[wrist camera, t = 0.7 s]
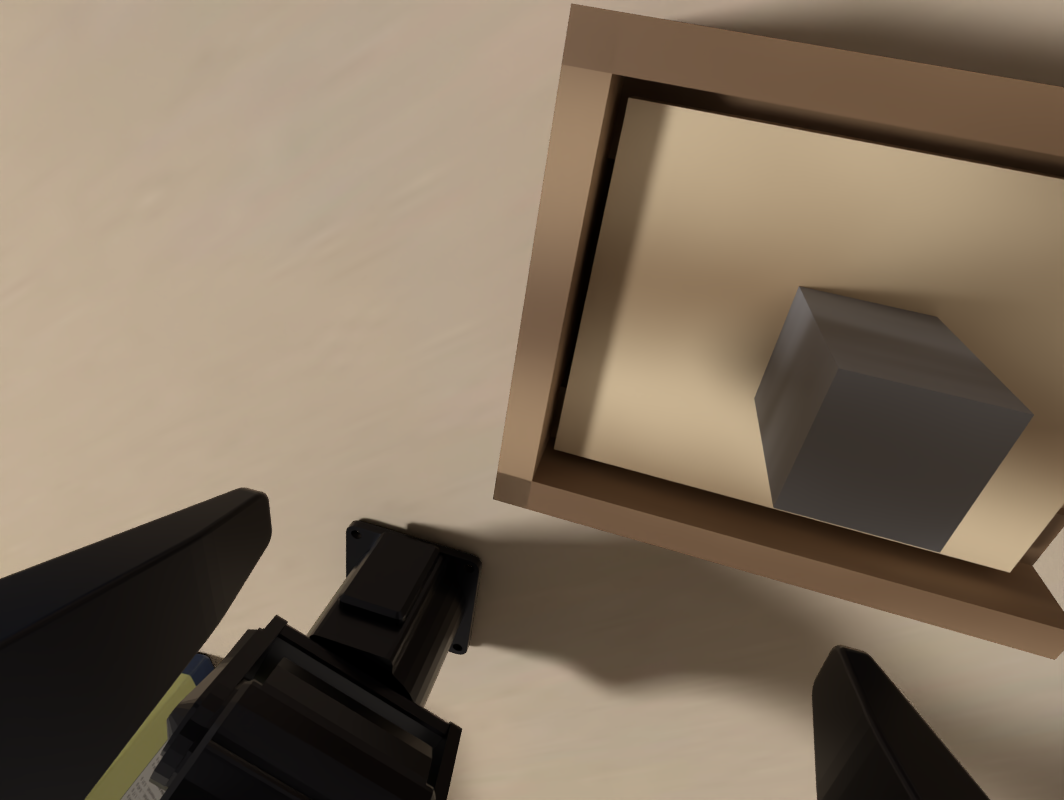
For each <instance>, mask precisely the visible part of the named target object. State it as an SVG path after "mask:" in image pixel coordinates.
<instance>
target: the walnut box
mask: <svg viewBox="0 0 1064 800" xmlns="http://www.w3.org/2000/svg"><path fill="white" fill-rule="evenodd" d="M632 96H636V97H642V98H647V99H652V100H657V101H663V102H668V103H673V104H679V105H684V106H689V107H695V108H700V109H705V110H711V111H716V112H721V113H727V114H732V115H737V116H743V117H748V118H753V119H759V120H764V121H769V122H775V123H780V124H785V125H790V126H796V127H801V128H806V129H812V130H817V131H822V132H828V133H833V134H838V135H844V136H849V137H854V138H860V139H865V140H870V141H876V142H881V143H886V144H892V145H897V146H902V147H908V148H913V149H918V150H923V151H929V152H934V153H939V154H945V155H950V156H955V157H961V158H966V159H971V160H977V161H982V162H987V163H993V164H998V165H1003V166H1009V167H1014V168H1019V169H1025V170H1030V171H1035V172H1041V173H1046V174H1051V175H1056V176H1062V177H1064V87H1059V86H1054V85H1048V84H1042V83H1036V82H1030V81H1024V80H1018V79H1012V78H1006V77H1001V76H995V75H989V74H983V73H977V72H971V71H965V70H959V69H953V68H948V67H942V66H936V65H930V64H924V63H918V62H912V61H906V60H901V59H895V58H889V57H883V56H877V55H871V54H865V53H859V52H853V51H848V50H842V49H836V48H830V47H824V46H818V45H812V44H806V43H800V42H795V41H789V40H783V39H777V38H771V37H765V36H759V35H753V34H747V33H742V32H736V31H730V30H724V29H718V28H712V27H706V26H700V25H695V24H689V23H683V22H677V21H671V20H665V19H659V18H653V17H647V16H642V15H636V14H630V13H624V12H618V11H612V10H606V9H600V8H594V7H589V6H583V5H577V4H571V9H570V16H569V22H568V28H567V35H566V41H565V47H564V53H563V60H562V66H561V72H560V79H559V85H558V91H557V98H556V104H555V110H554V117H553V123H552V129H551V136H550V142H549V148H548V155H547V161H546V167H545V174H544V180H543V186H542V193H541V199H540V205H539V212H538V218H537V224H536V231H535V237H534V243H533V249H532V256H531V262H530V268H529V275H528V281H527V287H526V294H525V300H524V306H523V313H522V319H521V325H520V332H519V338H518V344H517V351H516V357H515V363H514V370H513V376H512V382H511V389H510V395H509V401H508V408H507V414H506V420H505V427H504V433H503V439H502V445H501V452H500V458H499V464H498V471H497V477H496V483H495V490H494V496H493V499H494V500H498V501H501V502H505V503H508V504H512V505H515V506H519V507H522V508H526V509H529V510H533V511H536V512H540V513H543V514H547V515H550V516H554V517H557V518H561V519H564V520H568V521H571V522H575V523H578V524H582V525H585V526H589V527H592V528H596V529H599V530H603V531H606V532H610V533H613V534H617V535H620V536H624V537H627V538H631V539H634V540H638V541H641V542H645V543H648V544H652V545H655V546H659V547H662V548H666V549H669V550H673V551H676V552H680V553H683V554H687V555H690V556H694V557H697V558H701V559H704V560H708V561H711V562H715V563H718V564H722V565H725V566H729V567H732V568H736V569H739V570H743V571H746V572H750V573H753V574H757V575H760V576H764V577H767V578H771V579H774V580H778V581H781V582H785V583H788V584H792V585H795V586H799V587H802V588H806V589H809V590H813V591H816V592H820V593H823V594H827V595H830V596H834V597H837V598H841V599H844V600H848V601H851V602H855V603H858V604H862V605H865V606H869V607H872V608H876V609H879V610H883V611H886V612H890V613H893V614H897V615H900V616H904V617H907V618H911V619H914V620H918V621H921V622H925V623H928V624H932V625H935V626H939V627H942V628H946V629H949V630H953V631H956V632H960V633H963V634H967V635H970V636H974V637H977V638H981V639H984V640H988V641H991V642H995V643H998V644H1002V645H1005V646H1009V647H1012V648H1016V649H1019V650H1023V651H1026V652H1030V653H1033V654H1037V655H1040V656H1043V657H1047V658H1050V659H1054V660H1055V659H1056V658H1057V657H1058V656H1059V655H1060V654H1061V653H1062V652H1063V650H1064V611H1063V610H1062V608H1061V607H1060V606H1059V604H1058V603H1057V601H1056V600H1055V598H1054V597H1053V595H1052V594H1051V592H1050V591H1049V589H1048V588H1047V586H1046V585H1045V584H1044V582H1043V581H1042V579H1041V578H1040V576H1039V575H1038V573H1037V572H1036V570H1035V569H1034V567H1033V566H1032V565H1033V564H1034V563H1035V562H1036V561H1037V559H1038V558H1039V557H1040V556H1041V554H1042V553H1043V552H1044V551H1045V549H1046V548H1047V547H1048V546H1049V544H1050V543H1051V542H1052V541H1053V539H1054V538H1055V537H1056V536H1057V534H1058V533H1059V532H1060V531H1061V529H1062V528H1063V527H1064V504H1063V505H1062V507H1061V508H1060V509H1059V511H1058V512H1057V513H1056V514H1055V516H1054V517H1053V518H1052V520H1051V521H1050V522H1049V523H1048V525H1047V526H1046V527H1045V528H1044V530H1043V531H1042V532H1041V534H1040V535H1039V536H1038V537H1037V539H1036V540H1035V541H1034V543H1033V544H1032V545H1031V546H1030V548H1029V549H1028V550H1027V551H1026V553H1025V554H1024V555H1023V557H1022V558H1021V559H1020V560H1019V562H1018V563H1017V564H1016V565H1015V567H1014V568H1013V569H1012V571H1011V572H1006V571H1002V570H998V569H995V568H991V567H987V566H984V565H980V564H976V563H973V562H969V561H965V560H962V559H958V558H954V557H950V556H947V555H943V554H939V553H936V552H932V551H928V550H925V549H921V548H917V547H914V546H910V545H906V544H902V543H899V542H895V541H891V540H888V539H884V538H880V537H877V536H873V535H869V534H865V533H862V532H858V531H854V530H851V529H847V528H843V527H840V526H836V525H832V524H829V523H825V522H821V521H817V520H814V519H810V518H806V517H803V516H799V515H795V514H792V513H788V512H784V511H781V510H777V509H773V508H769V507H766V506H762V505H758V504H755V503H751V502H747V501H744V500H740V499H736V498H732V497H729V496H725V495H721V494H718V493H714V492H710V491H707V490H703V489H699V488H696V487H692V486H688V485H684V484H681V483H677V482H673V481H670V480H666V479H662V478H659V477H655V476H651V475H648V474H644V473H640V472H636V471H633V470H629V469H625V468H622V467H618V466H614V465H611V464H607V463H603V462H599V461H596V460H592V459H588V458H585V457H581V456H577V455H574V454H570V453H566V452H563V451H559V450H555V449H554V446H555V441H556V436H557V432H558V427H559V422H560V418H561V413H562V408H563V404H564V399H565V394H566V389H567V385H568V380H569V375H570V371H571V366H572V361H573V357H574V352H575V347H576V342H577V338H578V333H579V328H580V324H581V319H582V314H583V310H584V305H585V300H586V295H587V291H588V286H589V281H590V277H591V272H592V267H593V263H594V258H595V253H596V248H597V244H598V239H599V234H600V230H601V225H602V220H603V216H604V211H605V206H606V201H607V197H608V192H609V187H610V183H611V178H612V173H613V169H614V164H615V159H616V154H617V150H618V145H619V140H620V136H621V131H622V126H623V122H624V117H625V112H626V107H627V103H628V98H629V97H632Z"/></svg>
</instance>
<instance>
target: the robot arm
mask: <svg viewBox="0 0 1064 800" xmlns="http://www.w3.org/2000/svg"><path fill="white" fill-rule="evenodd" d="M357 531H358V532H357ZM271 534H272V526H271V517H270V507H269V499H268V497H267V495H266V494H265V493H263V492H260V491H257V490H253V489H249V488H238V489H235V490H233V491H230V492H227V493H225V494H222V495H219V496H217V497H214V498H212V499H209V500H206V501H204V502H201V503H198V504H196V505H193V506H190V507H188V508H185V509H183V510H180V511H177V512H175V513H172V514H169V515H167V516H164V517H162V518H159V519H156V520H154V521H151V522H148V523H146V524H143V525H140V526H138V527H135V528H133V529H130V530H127V531H125V532H122V533H119V534H117V535H114V536H112V537H109V538H106V539H104V540H101V541H98V542H96V543H93V544H90V545H88V546H85V547H83V548H80V549H77V550H75V551H72V552H69V553H67V554H64V555H61V556H59V557H56V558H54V559H51V560H48V561H46V562H43V563H40V564H38V565H35V566H32V567H30V568H27V569H25V570H22V571H19V572H17V573H14V574H11V575H9V576H6V577H4V578H1V579H0V800H85V798H86V797H87V796H88V794H89V793H90V792H91V790H92V789H93V788H94V786H95V785H96V784H97V783H98V781H99V780H100V779H101V777H102V776H103V775H104V773H105V772H106V771H107V770H108V768H109V767H110V766H111V764H112V763H113V762H114V760H115V759H116V758H117V757H118V755H119V754H120V753H121V751H122V750H123V749H124V747H125V746H126V745H127V743H128V742H129V741H130V740H131V738H132V737H133V736H134V734H135V733H136V732H137V730H138V729H139V728H140V727H141V725H142V724H143V723H144V721H145V720H146V719H147V717H148V716H149V715H150V714H151V712H152V711H153V710H154V708H155V707H156V706H157V704H158V703H159V702H160V700H161V699H162V698H163V697H164V695H165V694H166V693H167V691H168V690H169V689H170V687H171V686H172V685H173V684H174V682H175V681H176V680H177V678H178V677H179V676H180V674H181V673H182V672H183V670H184V669H185V668H186V667H187V665H188V664H189V663H190V661H191V660H192V659H193V657H194V656H195V655H196V654H197V652H198V651H199V650H200V648H201V647H202V646H203V644H204V643H205V642H206V641H207V639H208V638H209V637H210V635H211V634H212V632H213V631H214V630H215V628H216V627H217V626H218V624H219V623H220V621H221V620H222V618H223V617H224V615H225V614H226V612H227V611H228V609H229V607H230V606H231V604H232V602H233V601H234V599H235V598H236V596H237V594H238V593H239V591H240V590H241V588H242V586H243V585H244V583H245V581H246V580H247V578H248V577H249V575H250V573H251V572H252V570H253V569H254V567H255V565H256V564H257V562H258V561H259V559H260V557H261V556H262V554H263V552H264V551H265V549H266V548H267V546H268V544H269V542H270V539H271ZM469 565H471V566H472V567H471V566H469ZM481 569H482V562H481V561H480V559H479V558H478V557H477V556H474V555H472V554H469V553H465V552H462V551H459V550H455V549H452V548H449V547H445V546H442V545H439V544H435V543H432V542H429V541H425V540H422V539H419V538H415V537H412V536H409V535H405V534H402V533H399V532H395V531H392V530H389V529H385V528H382V527H379V526H375V525H372V524H369V523H365V522H362V521H353V522H352V523H351V524H350V525H349V527H348V528H347V530H346V579H345V581H344V582H343V584H342V585H341V586H340V588H339V589H338V591H337V592H336V594H335V595H334V596H333V598H332V599H331V601H330V602H329V604H328V605H327V606H326V608H325V609H324V611H323V612H322V614H321V615H320V616H319V618H318V619H317V621H316V622H315V624H314V625H313V626H312V628H311V629H310V631H309V632H308V634H307V635H304V634H302V633H301V632H299V631H298V630H296V629H294V628H293V627H291V626H289V625H288V624H287V623H288V621H286V620H284V619H283V618H281V617H280V616H278V615H276V616H275V617H274V618H273V619H272V620H271V622H270V623H269V624H268V625H267V626H266V627H265V629H264V628H263V629H261V628H259V629H258V630H250V629H248V630H247V631H246V632H245V634H244V635H243V636H242V637H241V639H240V640H239V641H238V642H237V643H236V645H235V646H234V647H233V648H232V650H231V651H230V652H229V653H228V654H227V656H226V657H225V658H224V659H223V660H222V661H221V663H220V664H219V665H218V666H217V667H216V668H215V669H214V670H213V671H212V672H211V673H210V674H209V675H208V676H207V677H206V678H205V679H203V680H202V681H201V682H200V683H199V684H198V685H197V686H196V687H195V688H194V689H193V690H192V691H191V692H190V693H189V694H188V695H187V696H186V697H185V698H184V699H183V700H182V701H181V702H180V703H179V704H178V705H177V706H176V707H175V708H174V710H173V711H172V712H171V714H170V715H169V717H168V718H167V720H166V721H167V738H168V742H167V743H166V745H165V747H164V748H163V750H162V752H161V754H160V755H161V756H163V757H162V759H161V760H160V762H159V763H158V765H157V766H156V768H155V770H154V771H153V773H152V775H151V777H150V779H149V782H151V783H152V784H154V785H156V786H157V787H159V788H161V789H163V790H164V791H165V793H164V794H163V796H162V797H161V798H160V800H447V795H448V791H449V786H450V782H451V777H452V773H453V768H454V764H455V759H456V754H457V750H458V745H459V741H460V736H461V732H462V728H460V727H459V726H457V725H456V724H454V723H452V722H451V721H450V722H449V723H448V722H446V721H444V720H443V719H441V718H439V717H438V716H436V715H434V714H433V713H431V712H430V711H428V710H426V709H425V708H424V706H425V704H426V701H427V699H428V697H429V694H430V692H431V690H432V688H433V685H434V683H435V681H436V678H437V676H438V674H439V671H440V669H441V667H442V664H443V662H444V660H445V658H446V655H447V653H448V651H449V652H452V653H455V654H460V655H461V654H465V653H466V652H467V649H468V647H469V644H470V638H471V632H472V626H473V619H474V613H475V607H476V600H477V594H478V588H479V581H480V575H481ZM812 707H813V729H814V750H815V771H816V790H817V800H990V799H989V797H988V796H987V795H986V794H985V793H984V791H983V790H982V789H981V788H980V787H979V785H978V784H977V783H976V782H975V781H974V779H973V778H972V777H971V776H970V775H969V773H968V772H967V771H966V770H965V769H964V767H963V766H962V765H961V764H960V763H959V761H958V760H957V759H956V758H955V757H954V755H953V754H952V753H951V752H950V751H949V749H948V748H947V747H946V746H945V745H944V743H943V742H942V741H941V740H940V739H939V737H938V736H937V735H936V734H935V733H934V731H933V730H932V729H931V728H930V727H929V725H928V724H927V723H926V722H925V721H924V719H923V718H922V717H921V716H920V715H919V713H918V712H917V711H916V710H915V709H914V707H913V706H912V705H911V704H910V703H909V701H908V700H907V699H906V698H905V697H904V695H903V694H902V693H901V692H900V691H899V689H898V688H897V687H896V686H895V685H894V683H893V682H892V681H891V680H890V679H889V677H888V676H887V675H886V674H885V673H884V671H883V670H882V669H881V668H880V667H879V665H878V664H877V663H876V662H875V661H874V659H873V658H872V657H871V656H870V655H869V654H867V653H866V652H864V651H861V650H857V649H854V648H850V647H846V646H842V645H837V646H835V647H834V648H833V649H832V650H831V651H830V653H829V655H828V657H827V659H826V661H825V662H824V664H823V666H822V668H821V670H820V672H819V673H818V675H817V677H816V679H815V681H814V685H813V690H812Z"/></svg>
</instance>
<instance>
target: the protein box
mask: <svg viewBox="0 0 1064 800" xmlns="http://www.w3.org/2000/svg"><path fill="white" fill-rule="evenodd" d="M213 670H214V667H213V665H212V662H211V660H210V658H209V657H207V656H206V655H202V654H196V655H195V656H194V657H193V659H192V660H191V661H190V663H189V664H188V665H187V667H186V668H185V669H184V670H183V672H182V673H181V674H180V676H179V677H178V678H177V680H176V681H175V682H174V684H173V685H172V686H171V687H170V689H169V690H168V691H167V693H166V694H165V695H164V697H163V698H162V699H161V700H160V702H159V703H158V704H157V706H156V707H155V708H154V710H153V711H152V712H151V714H150V715H149V716H148V717H147V719H146V720H145V721H144V723H143V724H142V725H141V727H140V728H139V729H138V730H137V732H136V733H135V734H134V736H133V737H132V738H131V740H130V741H129V742H128V743H127V745H126V746H125V747H124V749H123V750H122V751H121V753H120V754H119V755H118V757H117V758H116V759H115V760H114V762H113V763H112V764H111V766H110V767H109V768H108V770H107V771H106V772H105V773H104V775H103V776H102V777H101V779H100V780H99V781H98V783H97V784H96V785H95V786H94V788H93V789H92V790H91V792H90V793H89V794H88V796H87V797H86V798H85V800H160V798H161V797H162V796H163V794H164V793H165V791H164V790H163V789H161V788H159V787H157V786H156V785H154V784H152V783H151V782H149V779H150V777H151V775H152V773H153V771H154V770H155V768H156V766H157V765H158V763H159V762H160V760H161V759H162V757H163V756H161V755H160V754H161V752H162V750H163V748H164V747H165V745H166V743H167V742H168V738H167V721H166V720H167V718H168V717H169V715H170V714H171V712H172V711H173V710H174V708H175V707H176V706H177V705H178V704H179V703H180V702H181V701H182V700H183V699H184V698H185V697H186V696H187V695H188V694H189V693H190V692H191V691H192V690H193V689H194V688H195V687H196V686H197V685H198V684H199V683H200V682H201V681H202V680H203V679H205V678H206V677H207V676H208V675H209V674H210V673H211V672H212V671H213Z"/></svg>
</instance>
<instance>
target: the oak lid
mask: <svg viewBox="0 0 1064 800" xmlns="http://www.w3.org/2000/svg"><path fill="white" fill-rule="evenodd" d="M554 449H555V450H559V451H563V452H566V453H570V454H574V455H577V456H581V457H585V458H588V459H592V460H596V461H599V462H603V463H607V464H611V465H614V466H618V467H622V468H625V469H629V470H633V471H636V472H640V473H644V474H648V475H651V476H655V477H659V478H662V479H666V480H670V481H673V482H677V483H681V484H684V485H688V486H692V487H696V488H699V489H703V490H707V491H710V492H714V493H718V494H721V495H725V496H729V497H732V498H736V499H740V500H744V501H747V502H751V503H755V504H758V505H762V506H766V507H769V508H773V509H777V510H781V511H784V512H788V513H792V514H795V515H799V516H803V517H806V518H810V519H814V520H817V521H821V522H825V523H829V524H832V525H836V526H840V527H843V528H847V529H851V530H854V531H858V532H862V533H865V534H869V535H873V536H877V537H880V538H884V539H888V540H891V541H895V542H899V543H902V544H906V545H910V546H914V547H917V548H921V549H925V550H928V551H932V552H936V553H939V554H943V555H947V556H950V557H954V558H958V559H962V560H965V561H969V562H973V563H976V564H980V565H984V566H987V567H991V568H995V569H998V570H1002V571H1006V572H1011V571H1012V569H1013V568H1014V567H1015V565H1016V564H1017V563H1018V562H1019V560H1020V559H1021V558H1022V557H1023V555H1024V554H1025V553H1026V551H1027V550H1028V549H1029V548H1030V546H1031V545H1032V544H1033V543H1034V541H1035V540H1036V539H1037V537H1038V536H1039V535H1040V534H1041V532H1042V531H1043V530H1044V528H1045V527H1046V526H1047V525H1048V523H1049V522H1050V521H1051V520H1052V518H1053V517H1054V516H1055V514H1056V513H1057V512H1058V511H1059V509H1060V508H1061V507H1062V505H1063V504H1064V177H1062V176H1056V175H1051V174H1046V173H1041V172H1035V171H1030V170H1025V169H1019V168H1014V167H1009V166H1003V165H998V164H993V163H987V162H982V161H977V160H971V159H966V158H961V157H955V156H950V155H945V154H939V153H934V152H929V151H923V150H918V149H913V148H908V147H902V146H897V145H892V144H886V143H881V142H876V141H870V140H865V139H860V138H854V137H849V136H844V135H838V134H833V133H828V132H822V131H817V130H812V129H806V128H801V127H796V126H790V125H785V124H780V123H775V122H769V121H764V120H759V119H753V118H748V117H743V116H737V115H732V114H727V113H721V112H716V111H711V110H705V109H700V108H695V107H689V106H684V105H679V104H673V103H668V102H663V101H657V100H652V99H647V98H642V97H636V96H632V97H629V98H628V103H627V107H626V112H625V117H624V122H623V126H622V131H621V136H620V140H619V145H618V150H617V154H616V159H615V164H614V169H613V173H612V178H611V183H610V187H609V192H608V197H607V201H606V206H605V211H604V216H603V220H602V225H601V230H600V234H599V239H598V244H597V248H596V253H595V258H594V263H593V267H592V272H591V277H590V281H589V286H588V291H587V295H586V300H585V305H584V310H583V314H582V319H581V324H580V328H579V333H578V338H577V342H576V347H575V352H574V357H573V361H572V366H571V371H570V375H569V380H568V385H567V389H566V394H565V399H564V404H563V408H562V413H561V418H560V422H559V427H558V432H557V436H556V441H555V446H554Z"/></svg>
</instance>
